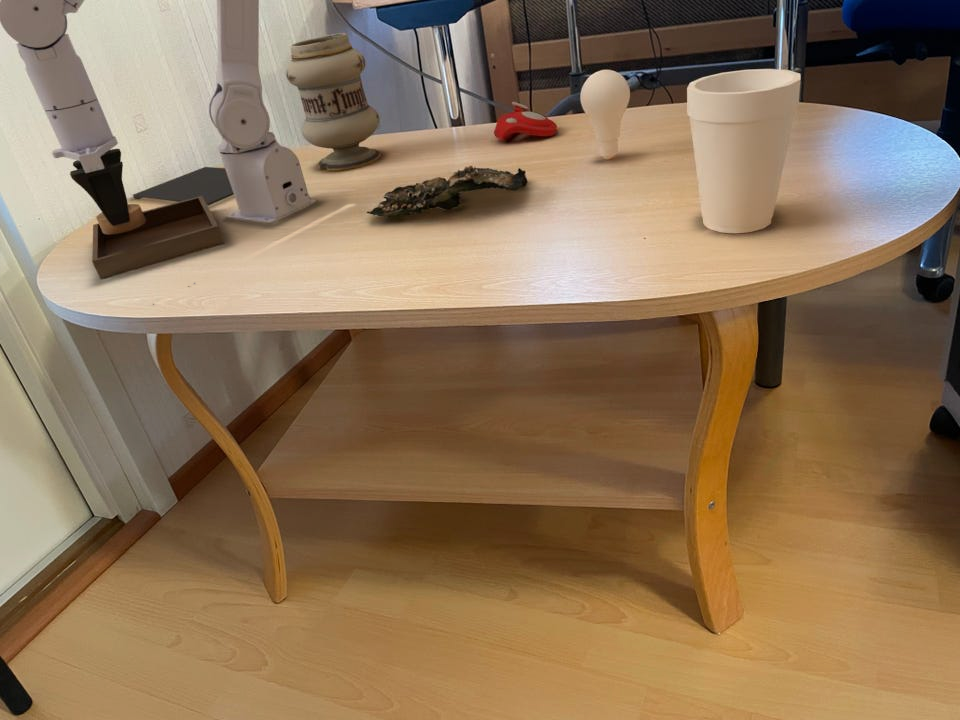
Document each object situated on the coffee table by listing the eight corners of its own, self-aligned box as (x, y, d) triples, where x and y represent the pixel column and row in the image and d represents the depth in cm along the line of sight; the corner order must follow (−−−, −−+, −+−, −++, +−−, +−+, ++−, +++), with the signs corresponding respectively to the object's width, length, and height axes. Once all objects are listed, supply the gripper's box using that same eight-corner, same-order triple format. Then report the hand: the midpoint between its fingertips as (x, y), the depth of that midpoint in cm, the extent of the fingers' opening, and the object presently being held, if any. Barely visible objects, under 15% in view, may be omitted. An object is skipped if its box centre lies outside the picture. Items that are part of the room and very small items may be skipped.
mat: (282, 175, 109) (281, 172, 109) (209, 207, 100) (207, 203, 100) (206, 170, 120) (205, 166, 120) (134, 198, 111) (132, 194, 111)
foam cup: (757, 246, 63) (766, 96, 56) (668, 230, 69) (666, 92, 62) (806, 211, 68) (820, 69, 61) (719, 198, 74) (723, 68, 67)
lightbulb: (639, 152, 92) (636, 63, 86) (621, 167, 88) (617, 75, 82) (596, 151, 95) (591, 65, 90) (577, 165, 91) (570, 77, 85)
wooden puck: (154, 220, 88) (148, 205, 87) (116, 236, 85) (109, 220, 84) (132, 217, 91) (125, 202, 90) (95, 232, 87) (88, 217, 86)
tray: (225, 246, 85) (218, 225, 83) (101, 282, 80) (92, 261, 79) (208, 213, 98) (201, 195, 96) (101, 243, 93) (92, 224, 92)
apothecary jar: (296, 170, 111) (261, 48, 102) (353, 148, 118) (326, 32, 109) (344, 176, 103) (312, 45, 94) (402, 152, 111) (377, 28, 101)
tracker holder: (572, 123, 106) (518, 123, 100) (564, 151, 108) (512, 153, 103) (526, 96, 113) (475, 95, 108) (520, 124, 116) (470, 124, 111)
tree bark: (350, 201, 79) (379, 153, 91) (367, 249, 82) (393, 197, 94) (515, 171, 75) (523, 126, 87) (525, 223, 78) (532, 173, 90)
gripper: (38, 105, 85) (87, 212, 92) (28, 121, 73) (85, 242, 80) (99, 92, 87) (143, 197, 94) (99, 106, 75) (149, 225, 82)
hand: (120, 217), depth 87 cm, fingers closed on wooden puck, 5 cm apart
